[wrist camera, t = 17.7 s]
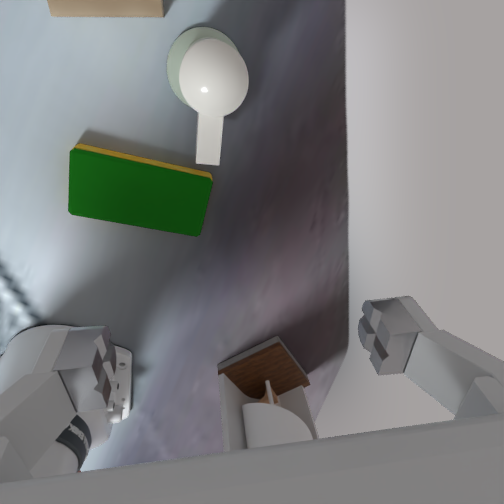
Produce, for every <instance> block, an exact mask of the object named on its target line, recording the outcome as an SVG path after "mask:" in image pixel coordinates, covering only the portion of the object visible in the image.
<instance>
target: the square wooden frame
mask: <svg viewBox="0 0 504 504" xmlns="http://www.w3.org/2000/svg"><path fill="white" fill-rule="evenodd" d="M47 1H48V5H49V9H50V13H51V16H55V17H164V8H163V0H47Z"/></svg>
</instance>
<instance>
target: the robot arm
mask: <svg viewBox="0 0 504 504" xmlns="http://www.w3.org/2000/svg"><path fill="white" fill-rule="evenodd" d="M362 311H363V313H364V316H363V317H362V318H361V319H360V320H359V325H358V330H359V331H358V332H359V337H360V341H361V343H362V345H363V347H364V348H365V349H366V350H368V351H369V352H371V355H370V361H371V362H372V364H373V366H374V368H375V370H376V372H377V374H378V375H388V374H398V373H404V375H405V376H406V377H408V378H409V379H410V380H411V381H413V382H414V383H415V384H416V385H418V386H419V387H420V388H421V389H423V390H424V391H425V392H426V393H428V394H429V395H430V396H432V397H433V398H434V399H435V400H436V401H438V402H439V403H440V404H441V405H443V406H444V407H445V408H447V409H448V410H449V411H450V412H451V413H453V414H454V415H455V417H454V419H453V420H450V421H443V422H435V423H428V424H421V425H414V426H406V427H399V428H392V429H385V430H379V431H371V432H364V433H357V434H350V435H342V436H335V437H328V438H322V439H314V440H307V441H300V442H293V443H286V444H278V445H271V446H264V447H257V448H249V449H242V450H235V451H228V452H220V453H213V454H206V455H199V456H192V457H184V458H177V459H170V460H163V461H156V462H149V463H141V464H134V465H127V466H120V467H113V468H106V469H98V470H91V471H84V472H81V471H79V470H80V468H81V466H82V464H83V462H84V461H85V460H86V458H87V455H88V451H89V450H92V449H94V448H96V447H99V446H101V445H102V444H104V443H105V442H106V441H107V440H108V439H109V437H110V433H111V429H112V424H114V423H119V422H121V420H123V419H125V418H127V417H128V416H129V413H130V408H131V376H132V353H131V352H130V351H129V350H127V349H124V348H121V347H118V346H114V344H112V343H111V342H109V339H110V336H111V333H110V330H109V328H108V326H106V325H102V326H88V327H72V326H66V325H45V326H38V327H34V328H31V329H28V330H26V331H23V332H21V333H20V334H18V335H17V336H15V337H14V338H13V339H12V340H11V341H10V343H9V344H8V346H7V348H6V350H5V353H4V354H3V356H1V357H0V504H504V361H502V360H500V359H498V358H496V357H495V356H493V355H491V354H489V353H487V352H485V351H483V350H481V349H479V348H477V347H475V346H474V345H472V344H470V343H468V342H466V341H464V340H462V339H460V338H458V337H456V336H454V335H452V334H451V333H449V332H447V331H445V330H438V328H437V327H436V326H435V325H434V323H433V322H432V321H431V320H430V318H429V317H428V316H427V315H426V313H425V312H424V311H423V310H422V309H421V307H420V306H419V305H418V304H417V302H416V301H415V300H414V299H413V298H412V297H410V296H405V297H395V298H387V299H377V300H368V301H365V302H364V304H363V307H362Z"/></svg>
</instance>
